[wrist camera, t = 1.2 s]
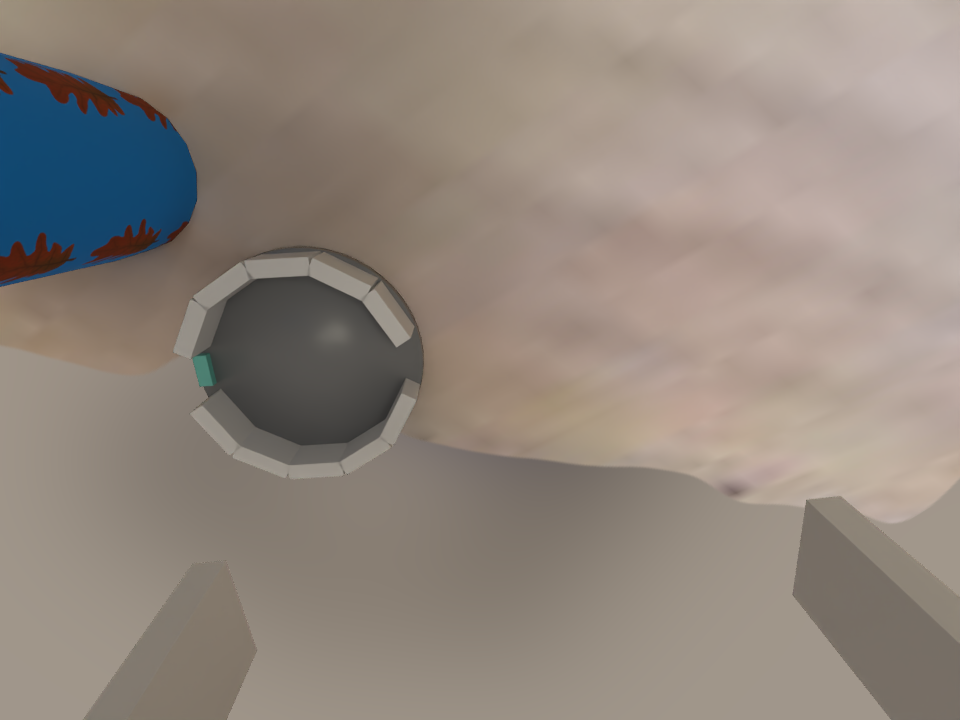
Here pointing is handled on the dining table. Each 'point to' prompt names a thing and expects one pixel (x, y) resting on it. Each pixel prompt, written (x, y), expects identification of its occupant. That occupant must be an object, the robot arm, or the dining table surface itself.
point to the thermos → (83, 173)
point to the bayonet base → (303, 362)
